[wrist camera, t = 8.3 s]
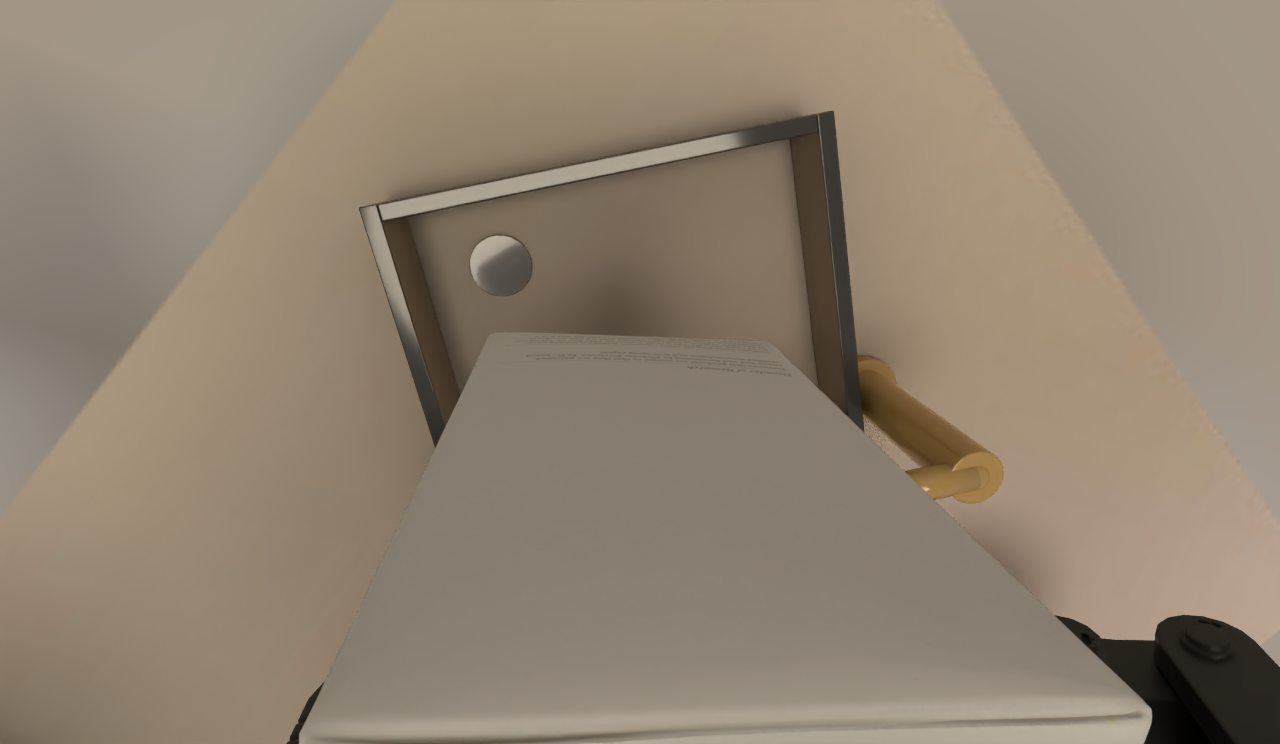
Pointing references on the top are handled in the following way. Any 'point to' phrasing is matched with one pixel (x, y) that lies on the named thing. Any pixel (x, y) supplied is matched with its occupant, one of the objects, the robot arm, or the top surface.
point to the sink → (841, 374)
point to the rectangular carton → (692, 575)
